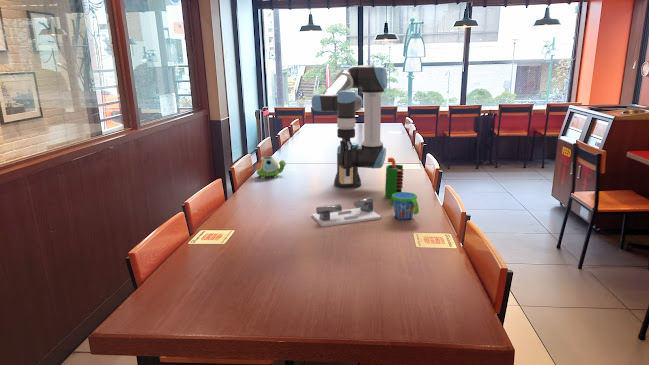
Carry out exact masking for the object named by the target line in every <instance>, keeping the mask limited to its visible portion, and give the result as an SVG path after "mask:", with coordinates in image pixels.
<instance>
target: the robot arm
mask: <svg viewBox="0 0 649 365" xmlns="http://www.w3.org/2000/svg"><path fill="white" fill-rule="evenodd" d="M387 73H388V72H387V70H386V67H385V66H383V64H382V65H380V64H379V65H378V64H367V65H365V64H364V65H363V64H361V65H358V64H357V65H351V66H348V67H347V68H343V70H341V71H340V72H338V74H337V75H336V76H335V78H334V80H333V81H332V83H331V84H330V85H329V86H328V87H327V88H326V89H325V90H324V92H322V93H317V94H313V95H312V98H311V107H312V110H314V112H321V113H322V112H329V113H330V112H335V113H336V112H337V113H336V114H337V119H336V122H337V123H336V124H337V125H336V126H337V129H336V130H337V132H336V133H337V135H336V136H337V138H339V139H341V140H340V141H339V142H340V144H339V145H338V146H337V148H336V149H337V150H336V174H335V177H334V180H333V185H334V187H336V188H343V189H354V188H355V189H356V188H358V187H361V185H362V180H361V177H360V174H359V168H365V169H381V168H383V166H384V164H385V161H386V157H387V156H386V155H387V148H386V147H385V146H384V143H383V142H382V141H381V118H382V115H381V114H382V113H381V111H382V107H381V106H382V95H383V94H384V92H385V89H387V88H388V74H387ZM351 89H361V93H362V94H363V96H364V98H362V96H360V95H358V94H356V91H355V90H351ZM363 106H364V107H363ZM362 107H363V108H364V109H363V113H364V114H363V115H364V116H363V117H364V118H363V121H364V122H363V123H364V124H363V132H364V134H363V136H364V137H363V141H362V142H361V144H360V145H359V143H358V142H352V141H351V139H353V138H355V137H356V128H355V127H356V123H357V119H356V112H358V111H360V110H361V109H362ZM344 165H345V167H343V169H344V184H341V183H340V182H339V166H344ZM352 167H353V184H347V183H351V168H352Z"/></svg>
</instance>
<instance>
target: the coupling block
mask: <svg viewBox="0 0 649 365" xmlns="http://www.w3.org/2000/svg"><path fill="white" fill-rule="evenodd" d="M343 167H345V165H344V166H339V182H340V183H341V184H344V169H343ZM347 184H353V167H352V168H351V183H347Z"/></svg>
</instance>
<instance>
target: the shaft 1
mask: <svg viewBox="0 0 649 365" xmlns="http://www.w3.org/2000/svg"><path fill="white" fill-rule="evenodd" d="M342 208H343V206H342V204H335V205H326V206H318V207H316V210H315V212H316V213H317V214H320V218H321V219H322V220H323V221H328V220H330V213H333V212H341V211H342V210H343V209H342Z"/></svg>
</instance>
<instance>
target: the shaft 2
mask: <svg viewBox="0 0 649 365" xmlns="http://www.w3.org/2000/svg"><path fill="white" fill-rule="evenodd" d="M353 206H354V208H360V210H363V211H366V212H371V211H374V200H373V198H372V197H366V198H362V199H359V200H356V201H354V202H353Z"/></svg>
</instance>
